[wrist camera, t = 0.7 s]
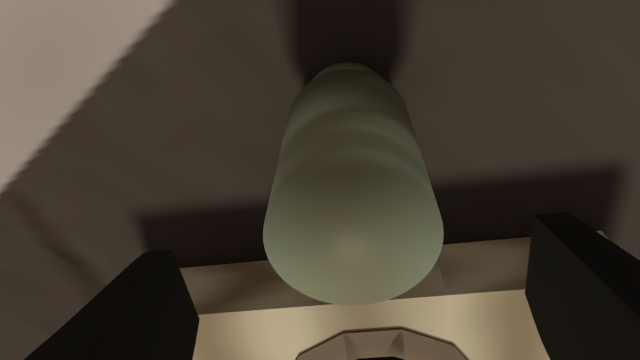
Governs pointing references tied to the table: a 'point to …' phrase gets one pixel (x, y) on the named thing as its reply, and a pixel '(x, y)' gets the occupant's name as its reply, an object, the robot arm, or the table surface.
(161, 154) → the table surface
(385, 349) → the socket board
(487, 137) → the table surface
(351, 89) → the green peg
